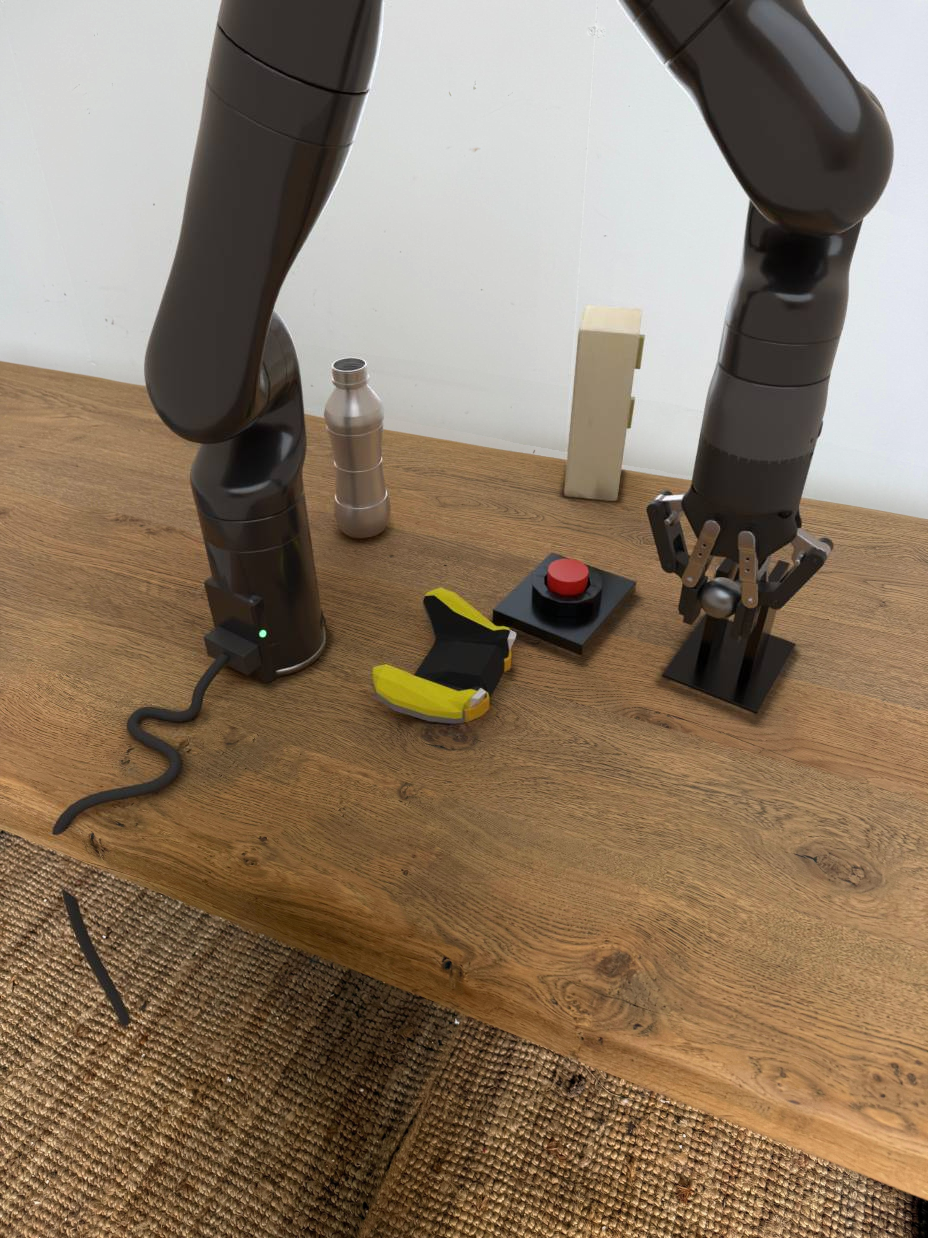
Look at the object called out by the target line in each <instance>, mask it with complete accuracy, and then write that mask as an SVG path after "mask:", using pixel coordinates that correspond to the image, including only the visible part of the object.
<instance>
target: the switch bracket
mask: <svg viewBox="0 0 928 1238" xmlns="http://www.w3.org/2000/svg"><path fill="white" fill-rule="evenodd" d="M790 565H791V562H788V561H784V560H782V559H778V560H777V562H776V564H775V565H774V566H773V568H772V569H771V571H770V572H769V575H768V582H778V581H779V580H780V579H781V578H782V577H783V576H784V575H785V574H786V573H787V572H788V571H789V570H790ZM738 568H739V564H738V563H736V562H734V561H732V560H730V559H729V558H726V557H724V559H723V560H722V561H721V563H720V564H718V565H717V566H716V568H715V569H714V570H715V571H714V572H713V573H714V574H713V579H714V578H720V577H721V578H728V579H730V580H732V581H734V578H735V575H736V572H737V569H738ZM777 611H778V610H774V609H772V608H770V607H769V606H768V605H762V606H761V608H760V612H759V616H758V619H757V623H756V626H755V627H754V629H753V630H752V632H751V634H750V635H749V636H748V637H747V638H744V637H741V639H740V640H739V642H735V641H733V640H730V639H729V637H730V633H731V628H732V624H733V620H730V619H729V618H730V617H728V618H723V619H718V618H714V617H711V616H709V615H708V614H707V613H705V612H704V615H703V616H702V618H701V619H700V620H699V621H698V623H697V625H696V626H695V627H694V628H693V630H692V632H691V633H690V634H689V635H688V637H687V638H686V640H685V642H684V643H683V644H682V646H681V647H680V648H679V650H678V651H677V652H676V654H675V656H674V657H673V658H672V659H671V661H670V662H669V664H668V665H667V667H666V668H665V670H664V671H663V673H661V676H662V678H665V679H667V680H670V681H672V682H674V683H677V684H680V685H682V686H684V687H688V688H689V689H693V690H695V691H698V692H699V693H702V694H705V695H707V696H710V697H712V698H715V699H717V700H720V701H723V702H724V703H727V704H730V705H733V706H735V707H738V708H740V709H743V710H745V711H748V712H750V713H753V714H755V715H758V714H759V712H760V710H761V709H762V707H763V705H764V704H765V702H766V700H767V698H768V696H769V695H770V692H771V691H772V689H773V688H774V686H775V684H776V682H777V680H778V678H779V676H780V675H781V673H782V671H783V669H784V667H785V665H786V664H787V662H788V660H789V658H790V656H791V655H792V653H793V651H794V649H795V647H796V645H797V644H796V643H795V642H792V641H790V640H787V639H784V638H781V637H778V636H776V635H772V634H771V632H772V629H773V625H774V622H775V619H776V614H777Z"/></svg>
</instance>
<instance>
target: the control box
mask: <svg viewBox="0 0 928 1238" xmlns="http://www.w3.org/2000/svg"><path fill="white" fill-rule="evenodd" d="M559 559H571V558H570V557H567V556H565V555H561V554H559V553H555V552H553V551H551V552H550V553H549V554H548V555H546V557H545V558H544V559H542V561H541V562H540V563H539V564H538V565H536V567H535V568H534V569H533V570H531V571H530V573H529V574H527V575H526V576H525V577H524V578H523V580H521V581H520V582H519V583H518V584H517V585H516V586H515V587H514V588H513V589H512V590H511V591H510V592H509V593H508V594H507V595H506V596H505V597H504V598H503V599H502V600H501V601H500V602H499V603H498V604H497V605H495V607H494V608H493V609H492V623H493V624H494V625H495V626H504V627H508V628H509V629H510V628H512V629H514V630H517V631H518V632H521V633H524V634H526V635H529V636H531V637H534V638H537V639H539V640H541V641H544V642H545V643H549V644H551V645H553V646H556V647H559V648H561V649H563V650H566V651H569V652H570V653H573V654H575V655H577V656H580V657H581V656H583V655H584V654H585V653H586V651H587V650H588V649H589V648H590V647H591V646H592V644H593V643H594V642H595V641H596V640H597V639H598V637H599V636H600V635H601V634H602V632H603V631H604V630H605V629H606V628H607V626H608V625H609V624H610V623H611V621H613V619H614V618H615V617H616V615H617V614H618V613H619V612H620V611H621V610H622V608H623V607H625V605H626V604H627V603H628V602H629V600H630V599H631V598H632V596H633V595H634V594H635V593H636V589H637V581H635V580H632V579H629V578H626V577H624V576H621V575H617V574H616V573H612V572H609V571H607V570H604V569H601V568H598V567H595V566H592V565H589V564H587V563H584V564H585V565H586V566H587V568H588V571H589V573H588V582H587V588H586V590H585V591H584V592H582V593H579V594H576V595H561V594H559V593H556V592H553V591H551V590H550V589H549V588H548V585H547V575H548V567H549V565H550V564H551V563H552V562H554V561H556V560H559Z"/></svg>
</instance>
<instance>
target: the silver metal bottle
mask: <svg viewBox="0 0 928 1238" xmlns="http://www.w3.org/2000/svg"><path fill="white" fill-rule="evenodd" d="M331 373H332V377H331V382H332V384H333V386H334V388H333V390H332V392H331V393H330V394H329V396H328V398H327V400H326V402H325V404H324V405H325V406H324V409H323V410H324V411H323V419H324V424H325V427H326V431H327V435H328V439H329V443H330V447H331V452H332V458H333V463H334V471H335V474H334V475H335V477H334V478H335V495H334V504H333V505H334V506H333V507H334V508H333V510H334V511H333V516H334V519H335V521H336V525H337V527H338V529H339V530H341V532H342V533H344V534H345V535H346V536H348V537H351V538H354V539H355V538H356V539H368V538H372V537H375V536H378V535H379V534H382V533H383V531H384V530H385V529H386V528H387V526H388V525H389V524H390V520H391V511H392V507H391V502H390V497H389V494H388V491H387V487H386V479H385V475H384V467H383V434H384V421H385V409H384V406H383V403H382V401H381V398H380V397H379V396H378V395H377V394H376V392H375V391H374V390H373V389H372V388H371V387H370V386H369V384H368V383H369V382H370V375H369V373H368V363H367V361H366V360H365V359H363V358H360V357H343V358H339V359H337V360H335V361H333V362H332V364H331Z"/></svg>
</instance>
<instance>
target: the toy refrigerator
mask: <svg viewBox="0 0 928 1238" xmlns="http://www.w3.org/2000/svg"><path fill="white" fill-rule="evenodd" d="M642 314H643V310H642V308H638V307H626V306H611V305H597V304H586V305H585V306H584V307H583V311H582V315H581V319H580V323H579V326H578V331H577V342H576V354H575V365H574V377H573V387H572V398H571V399H572V400H571V401H572V402H571V411H570V422H569V434H568V445H567V457H566V466H565V476H564V490H563V493H564V494H563V495H564V496H565V497H568V498H569V497H570V498H580V499H587V500H596V501H597V500H598V501H606V502H607V501H608V502H617V500H618V496H619V491H620V490H619V489H620V482H621V474H622V469H623V468H622V467H623V459H624V452H625V445H626V437H627V429H632V423H633V417H634V416H633V415H634V410H635V402H636V397H635V396H632V393H633V392H632V390H633V384H634V375H635V370H640V369H642V368H641V367H642V360H643V353H644V346H645V339H646V335H645V334H641V333H640V332H641V323H642V316H643V315H642Z"/></svg>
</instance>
